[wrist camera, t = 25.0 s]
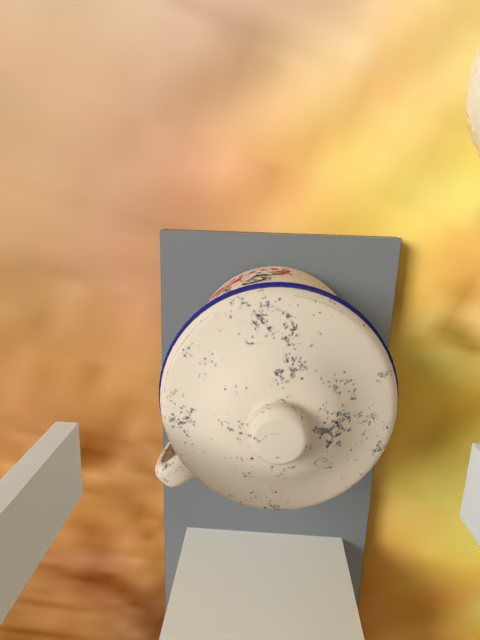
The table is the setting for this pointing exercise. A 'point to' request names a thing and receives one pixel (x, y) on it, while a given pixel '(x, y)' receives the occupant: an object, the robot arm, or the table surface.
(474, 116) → the lidded jar
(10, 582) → the robot arm
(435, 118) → the table surface
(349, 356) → the teacup with lid
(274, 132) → the table surface
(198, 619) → the block
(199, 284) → the board
